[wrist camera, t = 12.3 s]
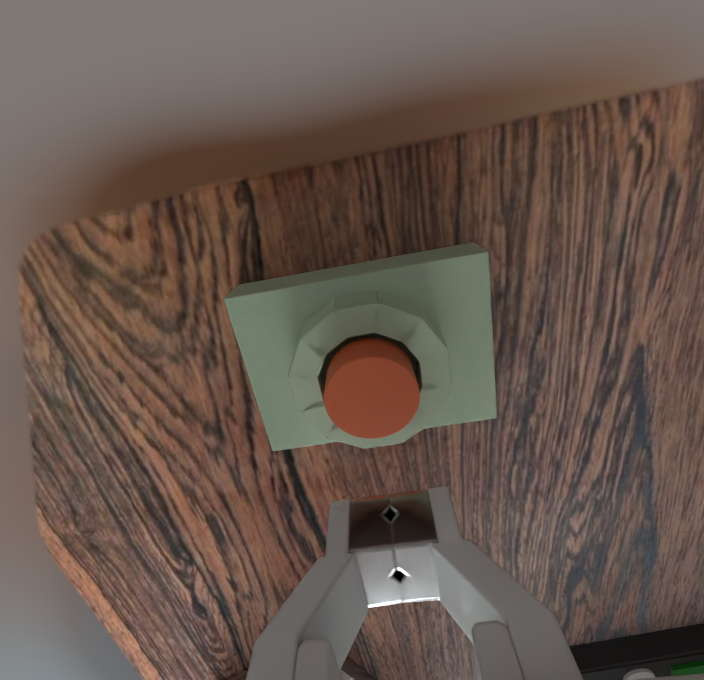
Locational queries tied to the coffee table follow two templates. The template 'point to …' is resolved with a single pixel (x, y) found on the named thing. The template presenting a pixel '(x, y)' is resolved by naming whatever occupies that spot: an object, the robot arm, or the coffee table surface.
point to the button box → (369, 322)
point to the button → (371, 389)
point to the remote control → (643, 655)
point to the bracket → (350, 672)
